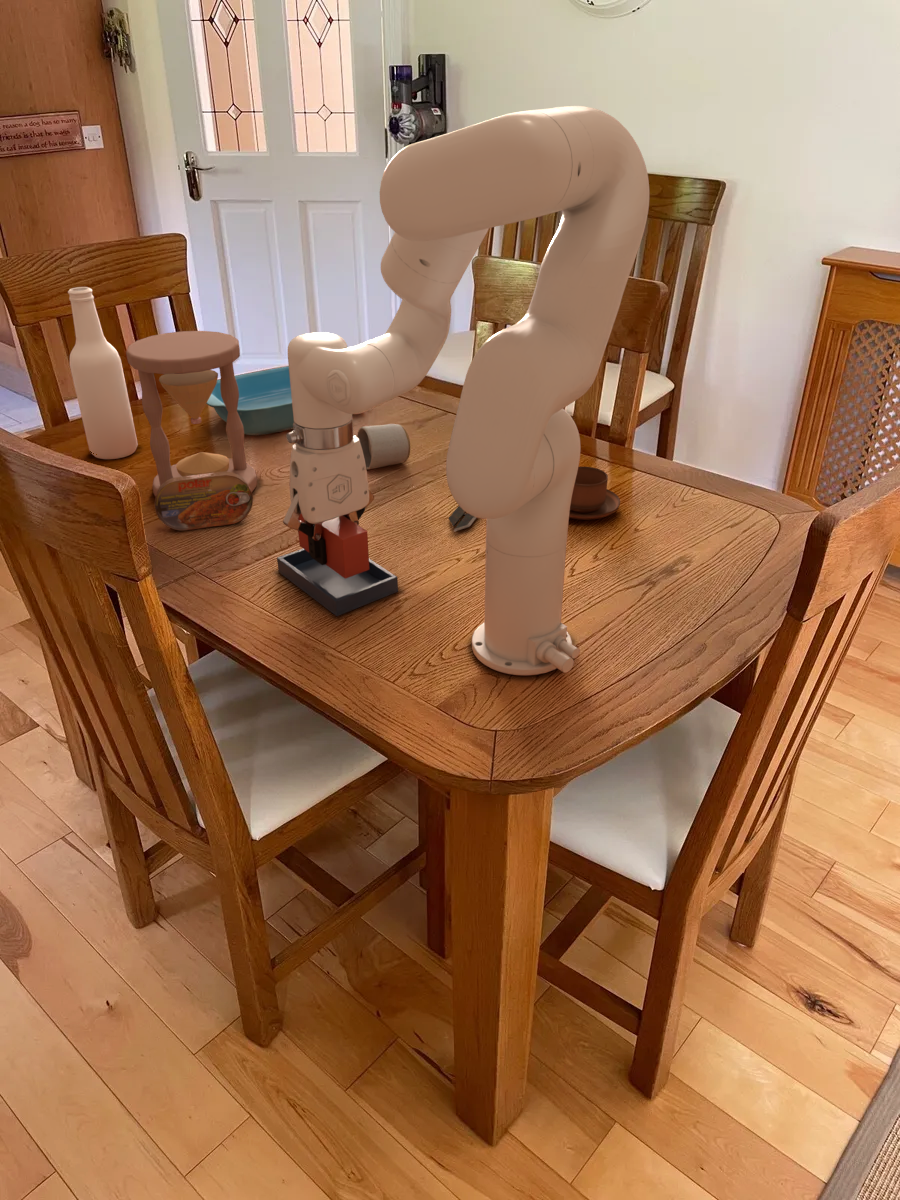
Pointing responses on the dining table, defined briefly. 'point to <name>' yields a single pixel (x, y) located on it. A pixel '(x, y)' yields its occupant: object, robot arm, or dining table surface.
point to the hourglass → (190, 396)
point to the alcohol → (99, 383)
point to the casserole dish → (260, 401)
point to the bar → (342, 546)
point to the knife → (458, 515)
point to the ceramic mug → (384, 445)
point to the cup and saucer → (592, 495)
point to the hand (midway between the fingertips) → (333, 554)
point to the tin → (203, 501)
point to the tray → (336, 582)
